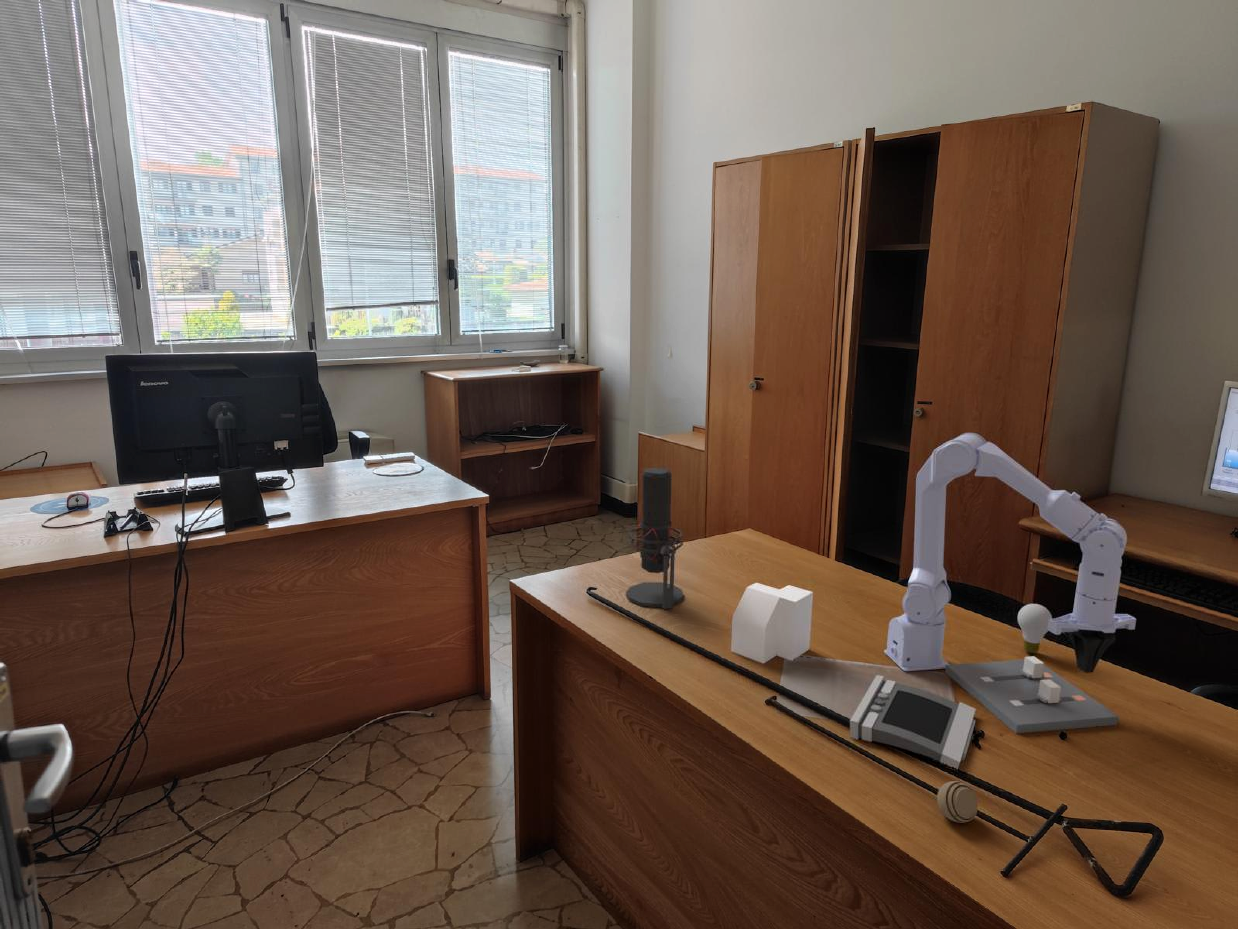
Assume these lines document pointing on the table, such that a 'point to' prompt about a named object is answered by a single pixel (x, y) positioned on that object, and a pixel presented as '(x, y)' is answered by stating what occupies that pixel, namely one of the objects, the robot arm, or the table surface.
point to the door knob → (957, 801)
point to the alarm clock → (914, 721)
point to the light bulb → (1033, 625)
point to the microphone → (656, 542)
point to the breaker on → (1033, 667)
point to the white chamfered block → (772, 623)
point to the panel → (1028, 697)
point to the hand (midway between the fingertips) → (1084, 670)
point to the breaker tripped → (1049, 691)
